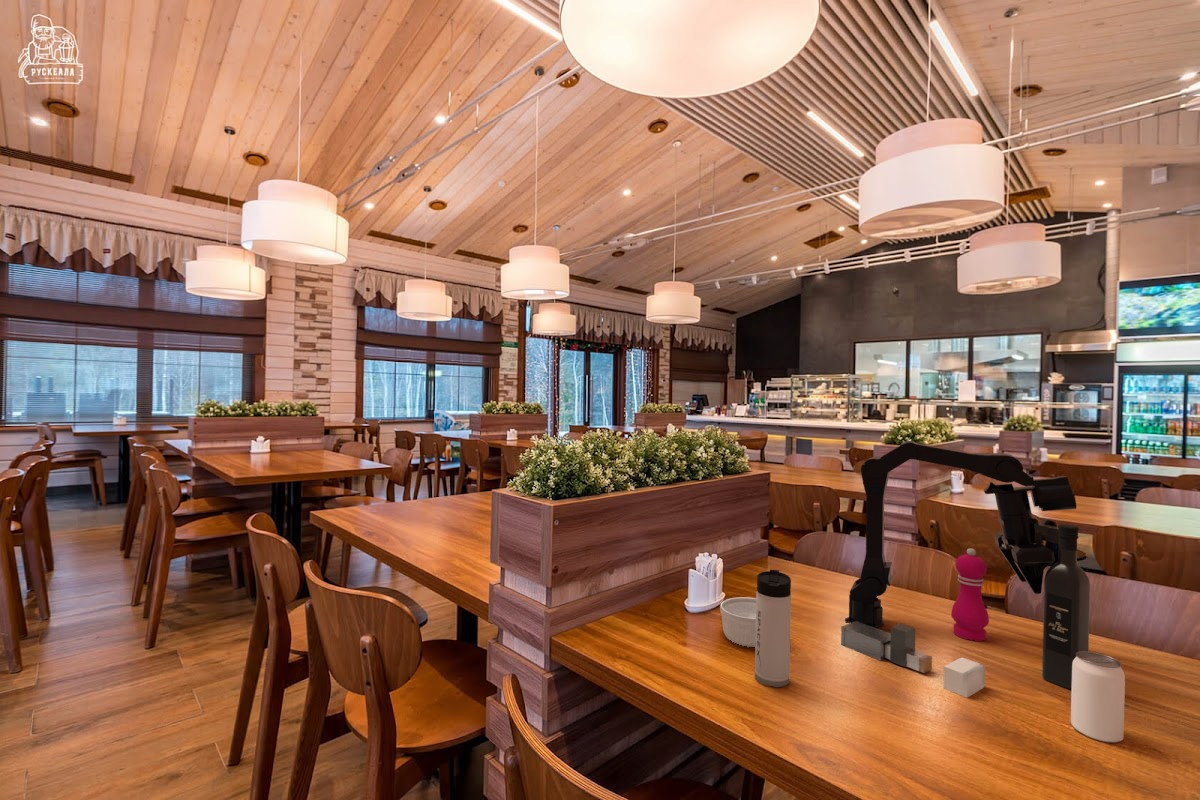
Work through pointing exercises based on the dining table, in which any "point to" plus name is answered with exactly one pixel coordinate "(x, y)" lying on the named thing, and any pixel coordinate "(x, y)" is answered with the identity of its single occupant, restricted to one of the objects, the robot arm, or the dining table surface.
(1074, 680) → the can
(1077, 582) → the wine bottle
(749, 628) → the ramekin
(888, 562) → the robot arm
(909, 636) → the grey l-shaped block
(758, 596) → the travel mug
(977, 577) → the pepper mill
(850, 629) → the sleeve
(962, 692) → the grey rectangular block
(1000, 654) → the dining table surface
